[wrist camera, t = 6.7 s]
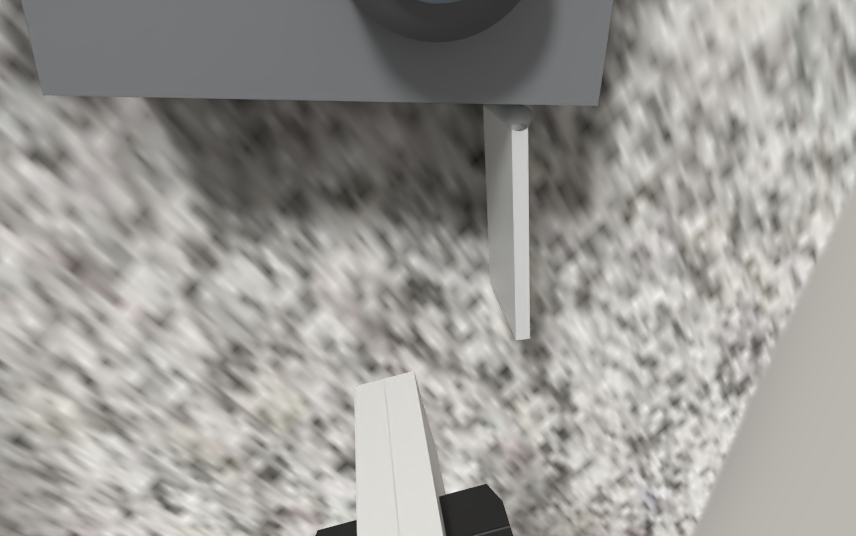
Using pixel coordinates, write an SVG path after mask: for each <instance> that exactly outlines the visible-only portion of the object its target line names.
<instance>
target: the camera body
mask: <svg viewBox="0 0 856 536" xmlns="http://www.w3.org/2000/svg"><path fill="white" fill-rule="evenodd" d="M21 1H22V6H23V10H24V14H25V19H26V23H27V28H28V32H29V36H30V41H31V45H32V50H33V54H34V59H35V63H36V67H37V72H38V76H39V81H40V85H41V89H42V94H43V95H56V96H107V97H159V98H210V99H262V100H313V101H365V102H416V103H468V104H519V105H571V106H598V102H599V96H600V89H601V82H602V75H603V68H604V61H605V55H606V48H607V41H608V34H609V27H610V21H611V14H612V7H613V0H21Z"/></svg>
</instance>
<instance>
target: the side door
mask: <svg viewBox="0 0 856 536" xmlns="http://www.w3.org/2000/svg"><path fill="white" fill-rule="evenodd" d="M482 105H483V118H484V143H485V168H486V192H487V217H488V242H489V267H490V284H491V286H492V288H493V291H494V293H495V295H496V297H497V299H498V302H499V304H500V306H501V308H502V311H503V313H504V315H505V317H506V319H507V322H508V324H509V326H510V328H511V330H512V333H513V335H514V337H515V339H516V340H523V339H530V286H529V178H528V127H529V125H530V124H531V121H532V114H531V111H530V110H529V109H528V108H527V107H525V106H524V105H519V104H482Z"/></svg>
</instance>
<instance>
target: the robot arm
mask: <svg viewBox="0 0 856 536" xmlns="http://www.w3.org/2000/svg"><path fill="white" fill-rule="evenodd" d="M354 393H355V449H356V505H357V520H355V521H351V522H347V523H344V524H340V525H336V526H332V527H329V528H325V529H321V530H318V531H317V533H316V535H315V536H513V534H512V531H511V528H510V524H509V521H508V518H507V514H506V511H505V508H504V505H503V501H502V500H501V499H500V498H499V497H498V496H497V495H496V494H495V493H494V492H493V490H492V489H491V488H490V487H489V486H488V485H487V484H484V485H481V486H477V487H473V488H469V489H466V490H462V491H458V492H454V493H451V494H447V495H446V494H445V489H444V484H443V479H442V474H441V469H440V464H439V459H438V454H437V450H436V447H435V443H434V440H433V436H432V433H431V429H430V426H429V422H428V419H427V415H426V412H425V408H424V405H423V401H422V398H421V394H420V391H419V387H418V384H417V380H416V377H415V374H414V371H412V372H408V373H404V374H400V375H397V376H393V377H389V378H385V379H381V380H378V381H374V382H370V383H366V384H362V385H359V386H355V387H354Z"/></svg>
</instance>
